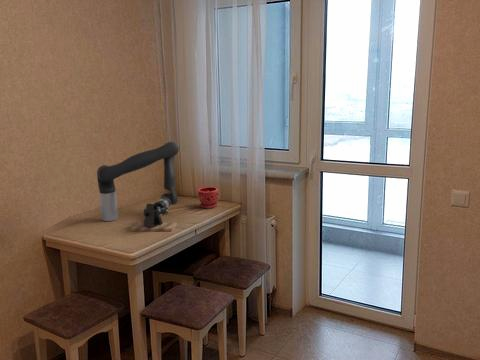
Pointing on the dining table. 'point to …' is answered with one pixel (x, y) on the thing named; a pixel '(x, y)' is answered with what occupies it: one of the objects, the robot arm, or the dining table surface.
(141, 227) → the oak board
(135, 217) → the dining table surface
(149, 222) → the phone stand
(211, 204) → the plant pot
